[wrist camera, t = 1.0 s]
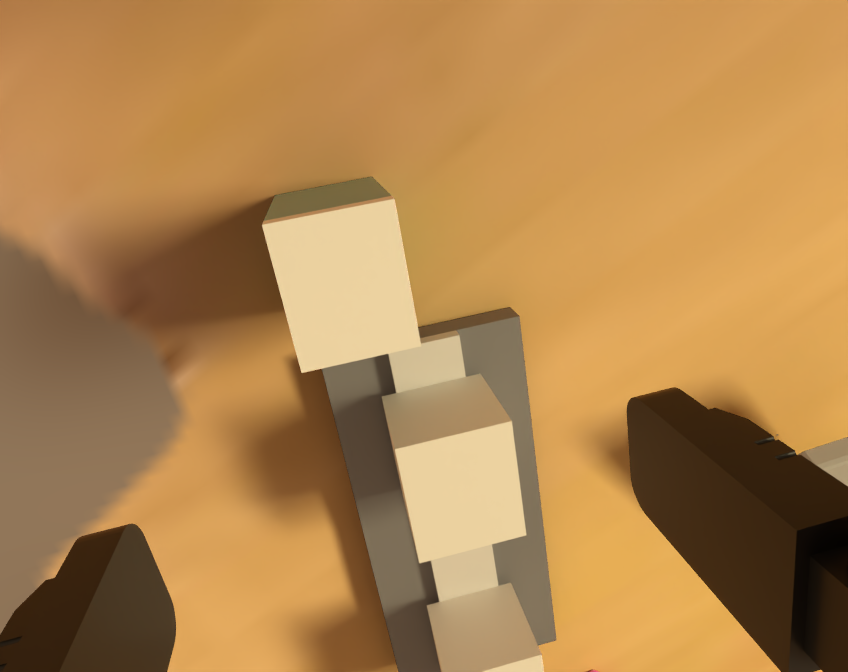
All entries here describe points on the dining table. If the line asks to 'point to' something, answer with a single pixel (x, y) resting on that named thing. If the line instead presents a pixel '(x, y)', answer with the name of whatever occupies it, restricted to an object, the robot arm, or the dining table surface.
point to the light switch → (831, 458)
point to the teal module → (341, 273)
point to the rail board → (388, 498)
